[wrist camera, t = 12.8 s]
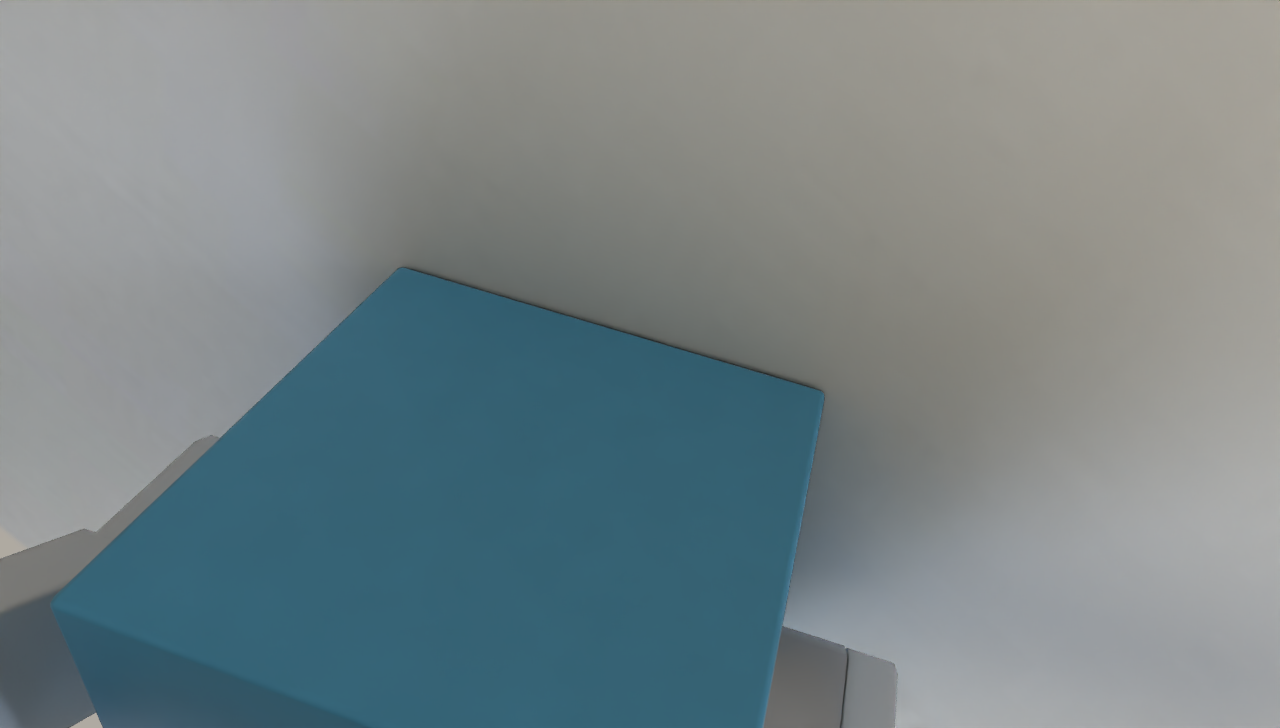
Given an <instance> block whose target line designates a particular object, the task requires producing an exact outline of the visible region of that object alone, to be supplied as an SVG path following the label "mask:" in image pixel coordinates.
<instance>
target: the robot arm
mask: <svg viewBox="0 0 1280 728" xmlns="http://www.w3.org/2000/svg"><path fill="white" fill-rule="evenodd" d="M219 439H220V438H218V437H215V436H212V435H210V436H208V437H205V438H203V439H200V440H198V441H196V442H194V443H193V444H192V445H191V446H190V447H188V448H187V449H186V450H185V451H184V452H183V453H182V454H181V455H180V456H179V457H178V458H176V459H175V460H174V461H173V462H172V463H171V464H170V465H169V466H168V467H167V468H166V469H164V470H163V471H162V472H161V473H160V474H159V475H158V476H157V477H156V478H155V479H154V480H152V481H151V482H150V483H149V484H148V485H147V486H146V487H145V488H144V489H143V490H142V491H141V492H139V493H138V494H137V495H136V496H135V497H134V498H133V499H132V500H131V501H130V502H129V503H127V504H126V505H125V506H124V507H123V508H122V509H121V510H120V511H119V512H118V513H117V514H115V515H114V516H113V517H112V518H111V519H110V520H109V521H108V522H107V523H106V524H105V525H104V526H102V527H101V528H100V529H99V530H98V531H97V532H94V531H90V530H87V529H82V530H79V531H76V532H73V533H71V534H68V535H65V536H62V537H59V538H57V539H54V540H51V541H48V542H46V543H43V544H40V545H37V546H34V547H32V548H29V549H26V550H23V551H21V552H18V553H15V554H12V555H10V556H7V557H4V558H1V559H0V728H69V727H71V726H73V725H75V724H77V723H78V722H80V721H82V720H83V719H85V718H87V717H89V716H91V715H92V714H94V713H96V711H95V708H94V706H93V704H92V702H91V699H90V697H89V695H88V692H87V690H86V688H85V685H84V683H83V681H82V679H81V676H80V674H79V672H78V669H77V667H76V665H75V662H74V660H73V658H72V656H71V653H70V651H69V649H68V646H67V644H66V642H65V639H64V637H63V635H62V633H61V630H60V628H59V626H58V623H57V621H56V619H55V616H54V614H53V612H52V610H51V607H50V603H51V601H52V599H53V597H54V596H55V595H56V594H57V593H58V592H59V591H60V590H61V589H62V588H63V587H64V586H65V585H66V584H68V583H69V582H70V581H71V580H72V579H73V578H74V577H75V576H76V575H77V574H78V573H79V572H80V571H81V570H82V569H83V568H84V567H85V566H86V565H87V564H89V563H90V562H91V561H92V560H93V559H94V558H95V557H96V556H97V555H98V554H99V553H100V552H101V551H102V550H103V549H104V548H105V547H106V546H107V545H108V544H109V543H111V542H112V541H113V540H114V539H115V538H116V537H117V536H118V535H119V534H120V533H121V532H122V531H123V530H124V529H125V528H126V527H127V526H128V525H129V524H130V523H132V522H133V521H134V520H135V519H136V518H137V517H138V516H139V515H140V514H141V513H142V512H143V511H144V510H145V509H146V508H147V507H148V506H149V505H150V504H151V503H153V502H154V501H155V500H156V499H157V498H158V497H159V496H160V495H161V494H162V493H163V492H164V491H165V490H166V489H167V488H168V487H169V486H170V485H171V484H172V483H173V482H175V481H176V480H177V479H178V478H179V477H180V476H181V475H182V474H183V473H184V472H185V471H186V470H187V469H188V468H189V467H190V466H191V465H192V464H193V463H194V462H196V461H197V460H198V459H199V458H200V457H201V456H202V455H203V454H204V453H205V452H206V451H207V450H208V449H209V448H210V447H211V446H212V445H213V444H214V443H215V442H217V441H218V440H219ZM897 677H898V674H897V671H896V668H895V665H894V664H893V663H892V662H889V661H886V660H882V659H879V658H876V657H873V656H870V655H867V654H864V653H861V652H858V651H855V650H852V649H849V648H845V646H844V645H840V644H837V643H834V642H831V641H828V640H825V639H822V638H818V637H815V636H812V635H809V634H806V633H803V632H799V631H796V630H793V629H790V628H787V627H784V626H782V630H781V635H780V641H779V646H778V651H777V657H776V662H775V667H774V673H773V678H772V683H771V689H770V694H769V700H768V705H767V710H766V716H765V721H764V726H763V728H895V720H896V699H897Z"/></svg>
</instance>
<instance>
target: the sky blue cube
mask: <svg viewBox="0 0 1280 728" xmlns="http://www.w3.org/2000/svg"><path fill="white" fill-rule="evenodd" d="M824 399H825V398H824V393H823V392H821V391H820V390H816V389H813V388H810V387H806V386H803V385H799V384H796V383H793V382H789V381H786V380H783V379H779V378H776V377H772V376H769V375H766V374H762V373H759V372H755V371H752V370H749V369H745V368H742V367H739V366H735V365H732V364H728V363H725V362H722V361H718V360H715V359H711V358H708V357H705V356H701V355H698V354H695V353H691V352H688V351H684V350H681V349H678V348H674V347H671V346H667V345H664V344H661V343H657V342H654V341H651V340H647V339H644V338H640V337H637V336H634V335H630V334H627V333H623V332H620V331H617V330H613V329H610V328H607V327H603V326H600V325H596V324H593V323H590V322H586V321H583V320H580V319H576V318H573V317H569V316H566V315H563V314H559V313H556V312H552V311H549V310H546V309H542V308H539V307H536V306H532V305H529V304H525V303H522V302H519V301H515V300H512V299H508V298H505V297H502V296H498V295H495V294H492V293H488V292H485V291H481V290H478V289H475V288H471V287H468V286H464V285H461V284H458V283H454V282H451V281H448V280H444V279H441V278H437V277H434V276H431V275H427V274H424V273H420V272H417V271H414V270H410V269H407V268H398V269H397V270H396V271H395V272H394V273H393V274H392V275H391V276H390V277H389V278H388V279H386V280H385V281H384V282H383V283H382V284H381V285H380V286H379V287H378V288H377V289H376V290H375V291H374V292H373V293H372V294H371V295H370V296H369V297H368V298H367V299H365V300H364V301H363V302H362V303H361V304H360V305H359V306H358V307H357V308H356V309H355V310H354V311H353V312H352V313H351V314H350V315H349V316H348V317H347V318H346V319H345V320H343V321H342V322H341V323H340V324H339V325H338V326H337V327H336V328H335V329H334V330H333V331H332V332H331V333H330V334H329V335H328V336H327V337H326V338H325V339H324V340H322V341H321V342H320V343H319V344H318V345H317V346H316V347H315V348H314V349H313V350H312V351H311V352H310V353H309V354H308V355H307V356H306V357H305V358H304V359H303V360H301V361H300V362H299V363H298V364H297V365H296V366H295V367H294V368H293V369H292V370H291V371H290V372H289V373H288V374H287V375H286V376H285V377H284V378H283V379H282V380H281V381H279V382H278V383H277V384H276V385H275V386H274V387H273V388H272V389H271V390H270V391H269V392H268V393H267V394H266V395H265V396H264V397H263V398H262V399H261V400H260V401H258V402H257V403H256V404H255V405H254V406H253V407H252V408H251V409H250V410H249V411H248V412H247V413H246V414H245V415H244V416H243V417H242V418H241V419H240V420H239V421H237V422H236V423H235V424H234V425H233V426H232V427H231V428H230V429H229V430H228V431H227V432H226V433H225V434H224V435H223V436H222V437H221V438H220V439H219V440H218V441H217V442H215V443H214V444H213V445H212V446H211V447H210V448H209V449H208V450H207V451H206V452H205V453H204V454H203V455H202V456H201V457H200V458H199V459H198V460H197V461H196V462H194V463H193V464H192V465H191V466H190V467H189V468H188V469H187V470H186V471H185V472H184V473H183V474H182V475H181V476H180V477H179V478H178V479H177V480H176V481H175V482H173V483H172V484H171V485H170V486H169V487H168V488H167V489H166V490H165V491H164V492H163V493H162V494H161V495H160V496H159V497H158V498H157V499H156V500H155V501H154V502H153V503H151V504H150V505H149V506H148V507H147V508H146V509H145V510H144V511H143V512H142V513H141V514H140V515H139V516H138V517H137V518H136V519H135V520H134V521H133V522H132V523H130V524H129V525H128V526H127V527H126V528H125V529H124V530H123V531H122V532H121V533H120V534H119V535H118V536H117V537H116V538H115V539H114V540H113V541H112V542H111V543H109V544H108V545H107V546H106V547H105V548H104V549H103V550H102V551H101V552H100V553H99V554H98V555H97V556H96V557H95V558H94V559H93V560H92V561H91V562H90V563H89V564H87V565H86V566H85V567H84V568H83V569H82V570H81V571H80V572H79V573H78V574H77V575H76V576H75V577H74V578H73V579H72V580H71V581H70V582H69V583H68V584H66V585H65V586H64V587H63V588H62V589H61V590H60V591H59V592H58V593H57V594H56V595H55V596H54V597H53V599H52V601H51V603H50V607H51V610H52V612H53V614H54V616H55V619H56V621H57V623H58V626H59V628H60V630H61V633H62V635H63V637H64V639H65V642H66V644H67V646H68V649H69V651H70V653H71V656H72V658H73V660H74V662H75V665H76V667H77V669H78V672H79V674H80V676H81V679H82V681H83V683H84V685H85V688H86V690H87V692H88V695H89V697H90V699H91V702H92V704H93V706H94V708H95V711H96V713H97V715H98V717H99V720H100V722H101V724H102V726H103V728H763V726H764V721H765V716H766V710H767V705H768V700H769V694H770V689H771V683H772V678H773V673H774V667H775V662H776V657H777V651H778V646H779V641H780V635H781V630H782V624H783V619H784V614H785V608H786V603H787V598H788V592H789V587H790V582H791V576H792V571H793V565H794V560H795V555H796V549H797V544H798V539H799V533H800V528H801V523H802V517H803V512H804V506H805V501H806V496H807V490H808V485H809V480H810V474H811V469H812V464H813V458H814V453H815V447H816V442H817V437H818V431H819V426H820V421H821V415H822V410H823V405H824Z"/></svg>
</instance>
